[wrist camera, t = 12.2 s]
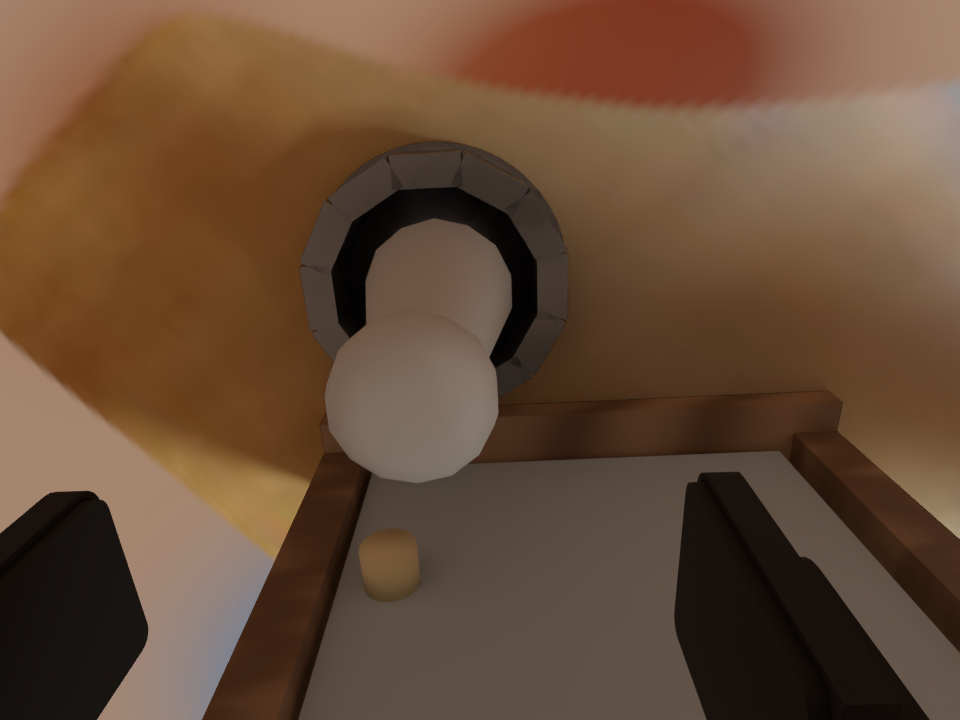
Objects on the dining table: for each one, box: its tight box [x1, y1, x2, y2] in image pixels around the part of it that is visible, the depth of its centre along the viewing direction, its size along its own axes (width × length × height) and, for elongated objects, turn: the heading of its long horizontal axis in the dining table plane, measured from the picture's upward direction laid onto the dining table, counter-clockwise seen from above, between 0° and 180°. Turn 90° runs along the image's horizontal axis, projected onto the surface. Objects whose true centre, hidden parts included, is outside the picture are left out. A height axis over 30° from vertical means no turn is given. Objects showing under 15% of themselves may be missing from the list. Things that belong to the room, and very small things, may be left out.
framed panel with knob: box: [202, 391, 960, 720], centre depth 20 cm, size 24×6×20 cm, turn 93°
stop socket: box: [299, 142, 568, 398], centre depth 25 cm, size 11×11×3 cm
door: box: [298, 451, 960, 720], centre depth 21 cm, size 19×3×16 cm, turn 93°
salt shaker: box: [324, 218, 512, 483], centre depth 20 cm, size 6×6×13 cm
